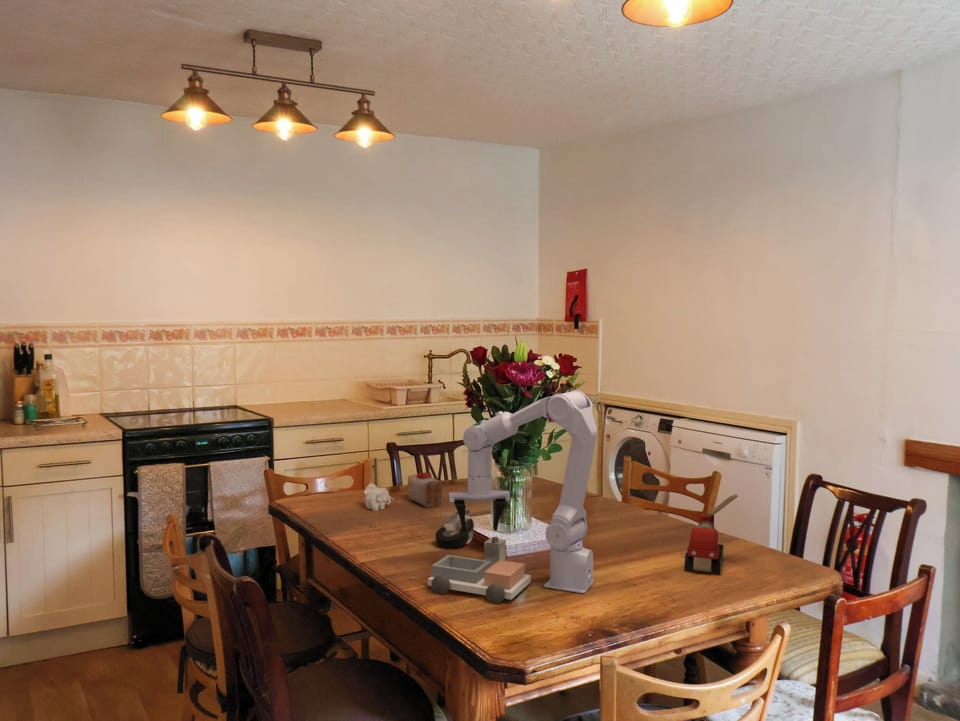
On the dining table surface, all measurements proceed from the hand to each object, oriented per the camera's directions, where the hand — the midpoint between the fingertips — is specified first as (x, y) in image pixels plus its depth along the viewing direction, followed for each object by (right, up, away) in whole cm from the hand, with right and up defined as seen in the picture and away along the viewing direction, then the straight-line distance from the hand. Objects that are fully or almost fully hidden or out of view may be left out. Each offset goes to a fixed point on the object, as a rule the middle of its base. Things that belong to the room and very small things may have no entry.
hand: (479, 530), depth 197 cm
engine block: (+4, -9, +2) cm, 10 cm away
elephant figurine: (-31, -5, +54) cm, 62 cm away
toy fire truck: (+57, -10, +3) cm, 57 cm away
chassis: (0, -10, -14) cm, 17 cm away
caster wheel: (-6, -8, +19) cm, 21 cm away
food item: (-17, -4, +61) cm, 63 cm away
